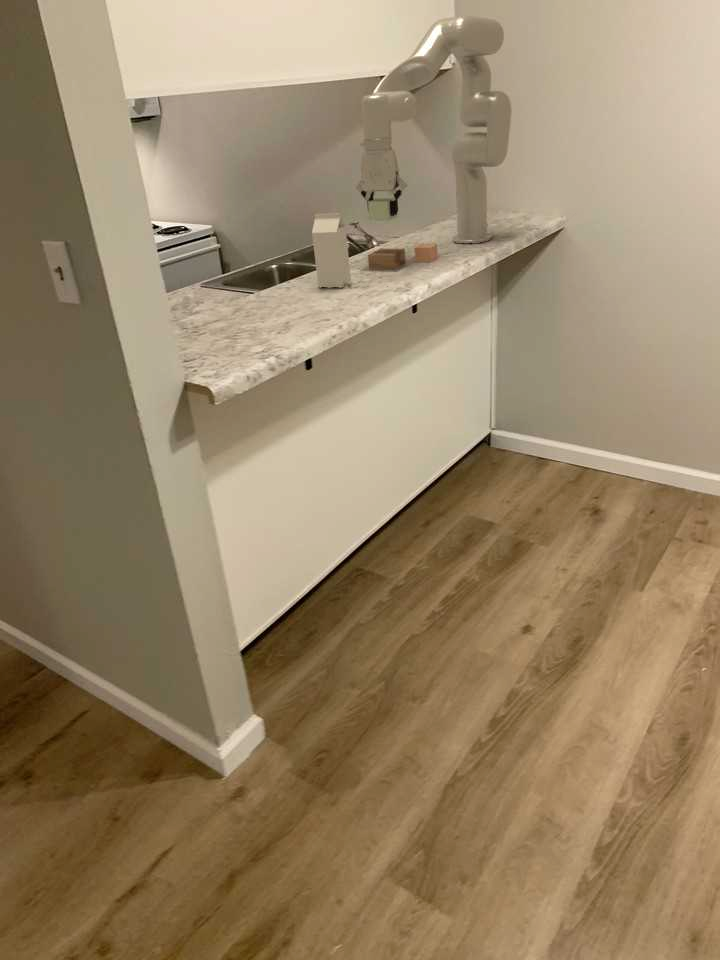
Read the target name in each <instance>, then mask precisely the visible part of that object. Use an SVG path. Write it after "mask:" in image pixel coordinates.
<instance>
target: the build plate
mask: <svg viewBox="0 0 720 960" xmlns="http://www.w3.org/2000/svg"><path fill="white" fill-rule="evenodd" d="M405 262H406V263H404V264H403V265H401V266H399V267H397V268H396V269H394V270H388V269H369V265H367V266H366V267H363V268H362V269H360V270H359V271H362V272H368V271H369V272H387V273H388V272H393V273H398V272H400V271H401V270H403V269H404V268H406V267H407V266H410V265H411V264H413V263H414V262H415V261H414V260H413V261H412V260H405Z"/></svg>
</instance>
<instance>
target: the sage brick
mask: <svg viewBox="0 0 720 960" xmlns="http://www.w3.org/2000/svg"><path fill="white" fill-rule="evenodd" d="M373 199H374V200H371V201H369V202H368V206H367V211H368V210H369V212H368V221H374V222H375V221H376V222H377V221H379V222H380V221H381V222H389V221H391V220H394V219H396V218H398V213H397V214H396V215H394V216H391V215H390V201H391V198H388V197H387V198H385V197H377V198H373Z"/></svg>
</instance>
